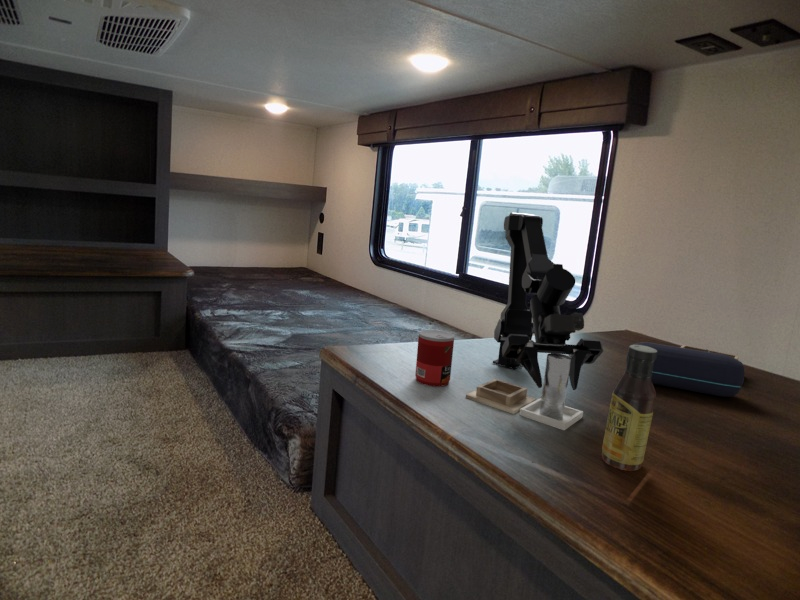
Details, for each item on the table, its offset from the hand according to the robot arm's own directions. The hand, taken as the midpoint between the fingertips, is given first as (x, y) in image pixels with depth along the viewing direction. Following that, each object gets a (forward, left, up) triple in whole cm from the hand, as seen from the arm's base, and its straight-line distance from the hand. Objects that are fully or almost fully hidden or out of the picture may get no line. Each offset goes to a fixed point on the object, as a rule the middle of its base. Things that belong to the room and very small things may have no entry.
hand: (557, 388), depth 96 cm
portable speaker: (-46, +12, -7) cm, 48 cm away
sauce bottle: (+8, +15, -7) cm, 18 cm away
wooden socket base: (-1, -12, -7) cm, 14 cm away
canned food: (0, -29, -7) cm, 30 cm away
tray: (-1, -1, -7) cm, 7 cm away
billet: (-1, -1, -6) cm, 6 cm away
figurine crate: (-69, +14, -7) cm, 71 cm away
